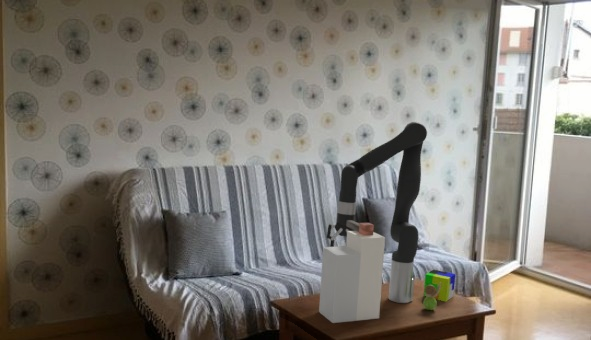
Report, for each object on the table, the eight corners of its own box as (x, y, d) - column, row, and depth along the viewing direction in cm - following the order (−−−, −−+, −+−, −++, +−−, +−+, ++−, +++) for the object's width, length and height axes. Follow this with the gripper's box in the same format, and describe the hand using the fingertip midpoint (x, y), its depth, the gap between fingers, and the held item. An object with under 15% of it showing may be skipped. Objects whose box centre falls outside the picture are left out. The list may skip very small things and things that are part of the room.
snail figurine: (438, 313, 249) (441, 284, 247) (422, 311, 250) (425, 282, 249) (438, 308, 254) (441, 280, 253) (422, 306, 255) (425, 278, 254)
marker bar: (353, 226, 252) (353, 216, 252) (373, 235, 238) (373, 224, 237) (344, 226, 251) (345, 216, 250) (363, 235, 236) (364, 225, 236)
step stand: (363, 307, 250) (369, 230, 246) (379, 318, 239) (385, 237, 235) (319, 312, 242) (324, 232, 238) (332, 323, 231) (338, 239, 227)
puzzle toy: (453, 296, 272) (455, 274, 271) (445, 301, 264) (447, 279, 262) (431, 291, 277) (433, 269, 276) (423, 296, 269) (425, 274, 268)
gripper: (363, 213, 263) (360, 250, 265) (330, 209, 265) (327, 246, 267) (362, 215, 256) (358, 254, 257) (328, 211, 258) (324, 249, 260)
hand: (342, 250), depth 262 cm, fingers open, 8 cm apart
